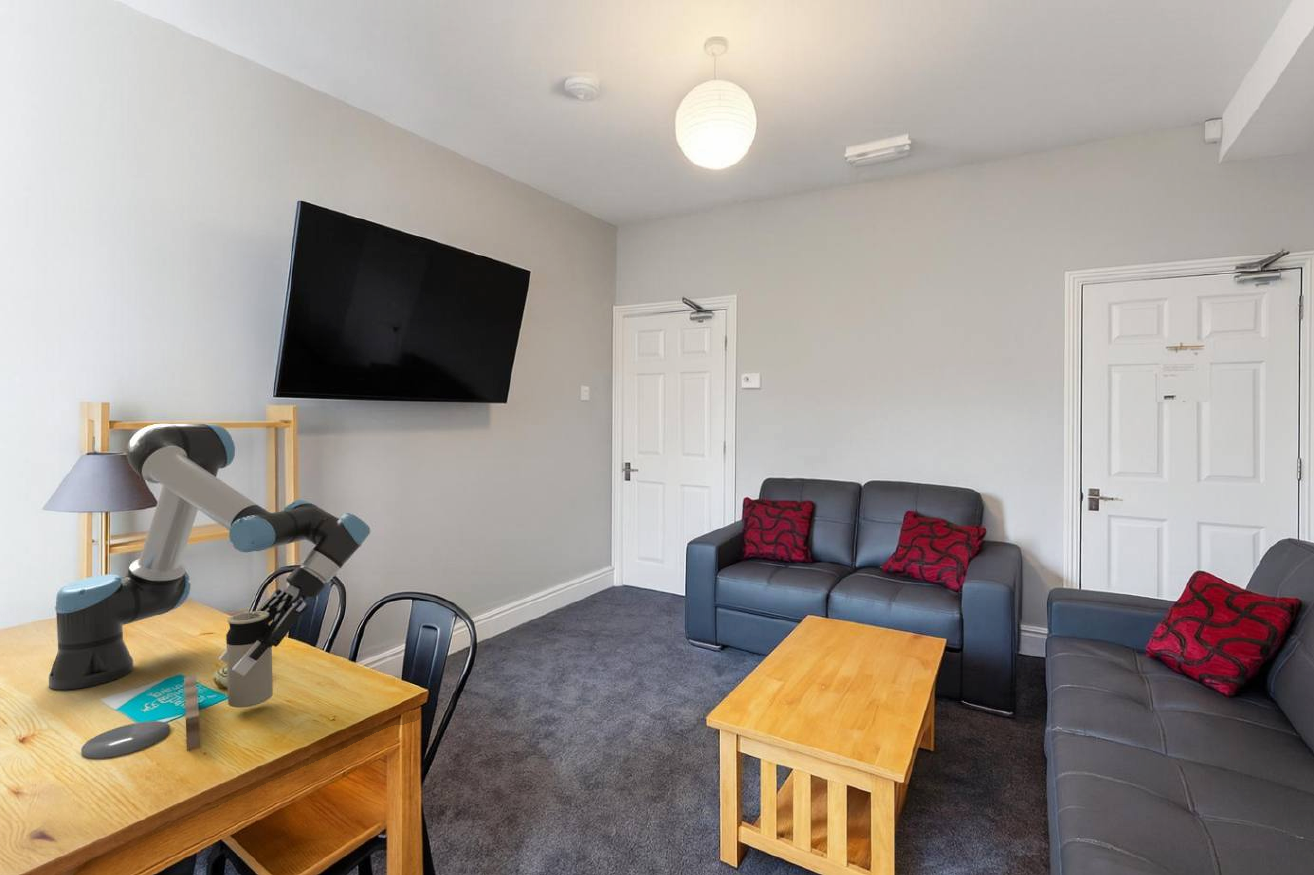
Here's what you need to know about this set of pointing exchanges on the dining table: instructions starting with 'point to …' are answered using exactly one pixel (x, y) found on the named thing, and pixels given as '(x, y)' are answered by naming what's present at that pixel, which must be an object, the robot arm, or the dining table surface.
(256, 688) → the travel mug
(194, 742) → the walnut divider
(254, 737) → the dining table surface
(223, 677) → the decorated donut
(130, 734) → the grey oval pebble
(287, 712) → the dining table surface
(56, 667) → the robot arm
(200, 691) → the dining table surface
